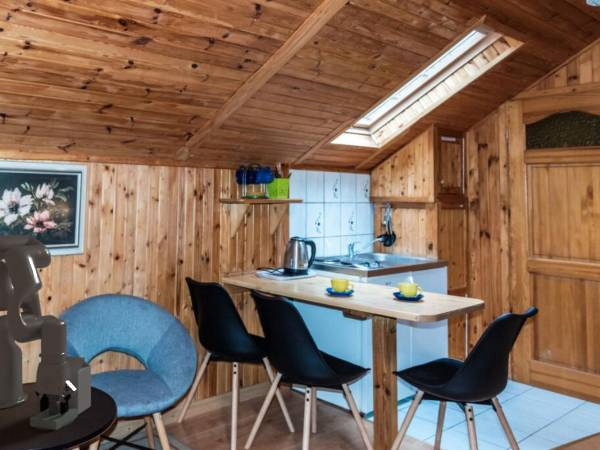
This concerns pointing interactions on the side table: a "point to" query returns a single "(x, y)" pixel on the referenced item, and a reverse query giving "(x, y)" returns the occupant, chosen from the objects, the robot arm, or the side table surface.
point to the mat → (51, 429)
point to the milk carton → (80, 383)
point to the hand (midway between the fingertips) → (54, 411)
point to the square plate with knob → (53, 417)
